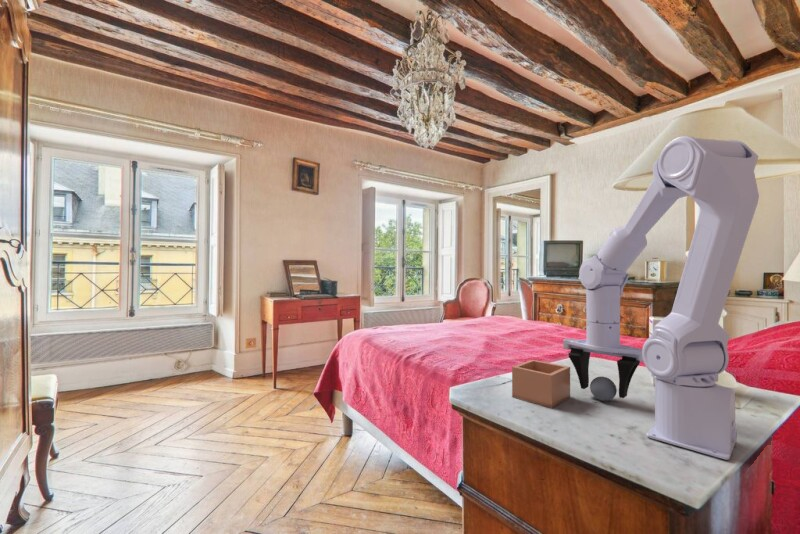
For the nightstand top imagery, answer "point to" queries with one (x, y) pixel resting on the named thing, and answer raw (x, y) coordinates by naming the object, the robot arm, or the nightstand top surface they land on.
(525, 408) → the nightstand top surface
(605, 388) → the ball
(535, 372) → the open square bin
